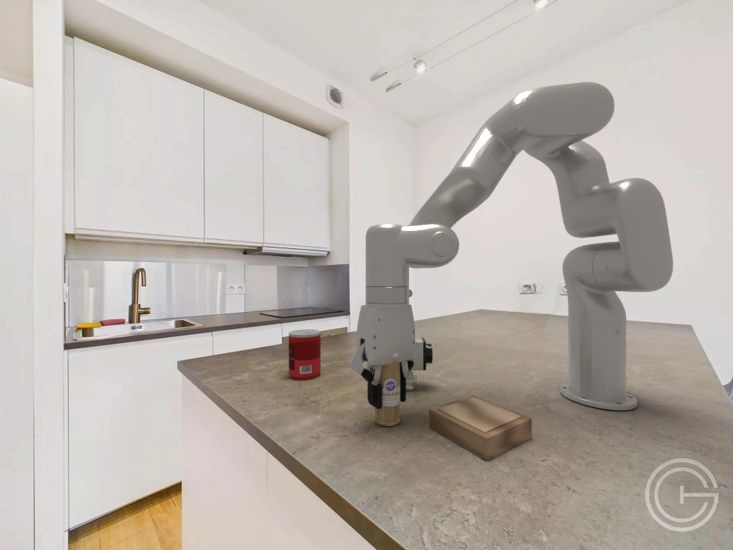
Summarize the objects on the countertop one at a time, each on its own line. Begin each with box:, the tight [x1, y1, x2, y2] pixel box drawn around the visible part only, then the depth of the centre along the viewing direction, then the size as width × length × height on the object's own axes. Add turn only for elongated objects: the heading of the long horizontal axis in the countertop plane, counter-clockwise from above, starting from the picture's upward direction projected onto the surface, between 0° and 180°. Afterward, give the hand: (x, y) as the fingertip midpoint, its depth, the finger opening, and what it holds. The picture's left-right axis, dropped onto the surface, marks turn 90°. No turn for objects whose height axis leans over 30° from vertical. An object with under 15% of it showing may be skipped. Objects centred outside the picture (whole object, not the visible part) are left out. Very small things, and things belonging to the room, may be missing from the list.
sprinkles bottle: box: [374, 353, 401, 427], centre depth 53 cm, size 5×5×14 cm
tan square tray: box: [428, 395, 533, 462], centre depth 49 cm, size 11×11×3 cm
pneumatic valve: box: [406, 336, 434, 391], centre depth 70 cm, size 6×12×12 cm, turn 86°
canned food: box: [288, 328, 322, 381], centre depth 78 cm, size 8×8×11 cm
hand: (387, 401), depth 53 cm, fingers closed on sprinkles bottle, 4 cm apart
